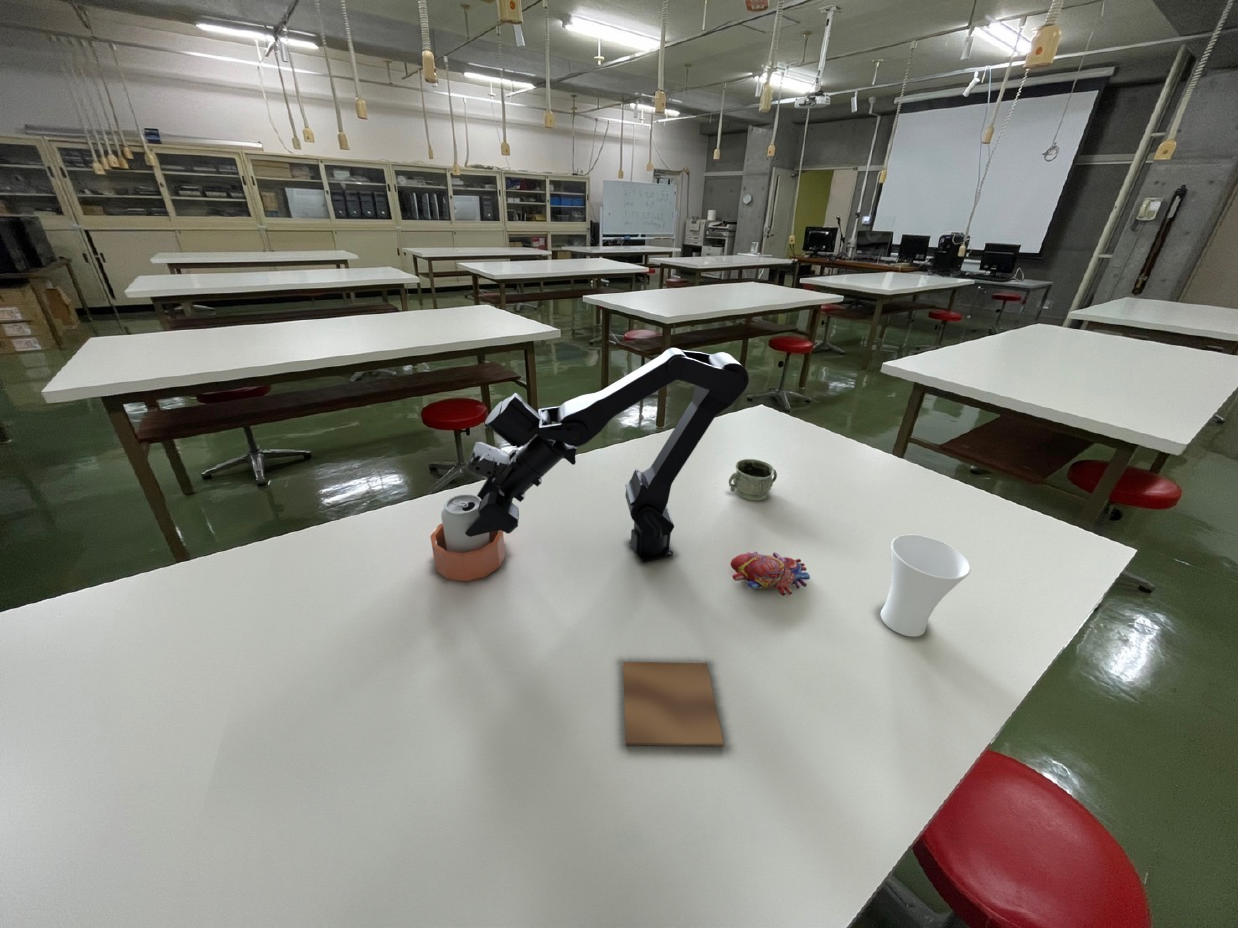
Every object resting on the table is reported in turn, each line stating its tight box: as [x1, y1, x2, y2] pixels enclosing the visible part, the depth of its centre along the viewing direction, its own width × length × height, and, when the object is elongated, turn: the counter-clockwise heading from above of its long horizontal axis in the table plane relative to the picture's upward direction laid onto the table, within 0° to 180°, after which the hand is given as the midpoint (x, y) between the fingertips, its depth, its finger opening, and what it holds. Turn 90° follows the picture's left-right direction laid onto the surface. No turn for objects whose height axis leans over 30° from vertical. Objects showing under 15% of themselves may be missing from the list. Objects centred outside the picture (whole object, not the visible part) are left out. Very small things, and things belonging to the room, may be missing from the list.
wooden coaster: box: [622, 661, 724, 747], centre depth 66 cm, size 12×12×1 cm
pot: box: [430, 522, 506, 582], centre depth 89 cm, size 12×12×6 cm
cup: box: [880, 533, 972, 638], centre depth 77 cm, size 10×10×14 cm
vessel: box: [728, 458, 778, 501], centre depth 113 cm, size 12×9×6 cm
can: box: [440, 493, 490, 553], centre depth 87 cm, size 8×8×12 cm
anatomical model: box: [730, 551, 811, 596], centre depth 87 cm, size 11×4×15 cm
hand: (471, 518), depth 86 cm, fingers open, 9 cm apart
